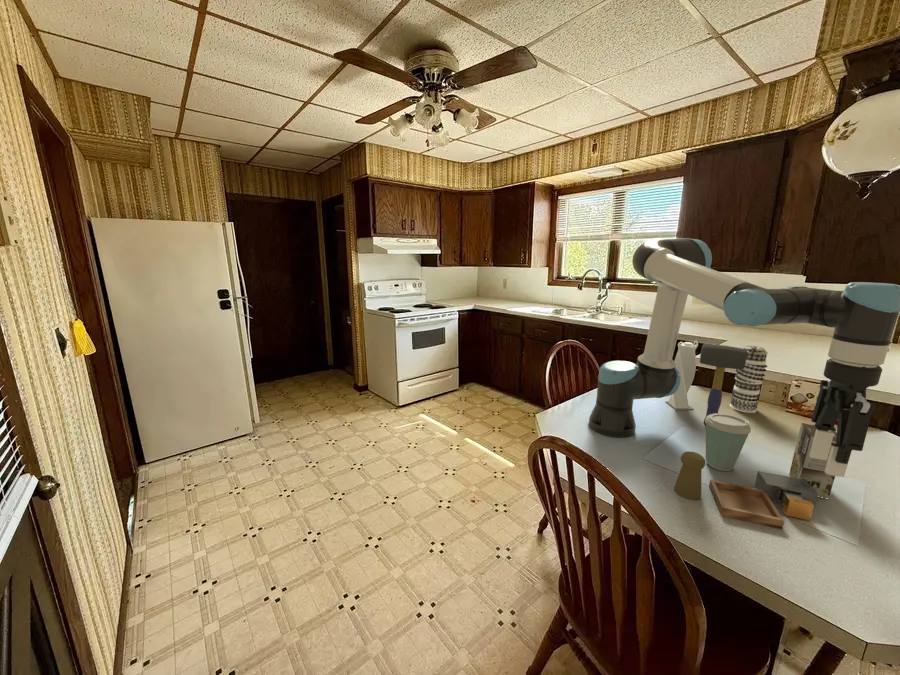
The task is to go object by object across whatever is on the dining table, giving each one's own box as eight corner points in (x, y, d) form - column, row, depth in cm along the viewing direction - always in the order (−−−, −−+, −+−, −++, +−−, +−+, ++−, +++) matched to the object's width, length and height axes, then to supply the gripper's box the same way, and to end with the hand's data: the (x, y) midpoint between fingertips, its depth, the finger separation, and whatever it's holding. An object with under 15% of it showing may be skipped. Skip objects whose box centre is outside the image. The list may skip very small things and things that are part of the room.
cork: (668, 485, 98) (674, 448, 96) (689, 484, 99) (696, 447, 96) (684, 500, 92) (691, 461, 90) (707, 499, 93) (714, 460, 90)
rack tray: (720, 515, 87) (722, 507, 87) (708, 486, 98) (710, 479, 97) (782, 529, 83) (784, 521, 82) (762, 497, 93) (764, 490, 93)
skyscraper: (695, 411, 142) (707, 341, 136) (674, 411, 143) (685, 341, 136) (682, 402, 151) (693, 336, 144) (662, 402, 151) (672, 336, 144)
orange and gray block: (786, 515, 87) (789, 500, 86) (767, 486, 97) (770, 473, 96) (810, 520, 85) (814, 505, 84) (788, 490, 96) (791, 477, 95)
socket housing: (763, 499, 93) (766, 484, 92) (754, 485, 98) (758, 470, 97) (813, 510, 89) (817, 493, 88) (801, 495, 94) (805, 479, 93)
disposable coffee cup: (691, 463, 108) (699, 416, 105) (705, 451, 115) (713, 406, 111) (734, 480, 100) (745, 430, 97) (747, 466, 107) (757, 419, 103)
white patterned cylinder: (735, 412, 142) (748, 349, 136) (723, 402, 150) (735, 343, 144) (762, 414, 140) (776, 351, 134) (749, 404, 148) (761, 344, 143)
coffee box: (830, 500, 92) (846, 442, 88) (795, 492, 96) (810, 435, 92) (819, 481, 100) (833, 427, 96) (787, 474, 103) (800, 421, 99)
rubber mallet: (731, 428, 129) (747, 346, 122) (731, 437, 123) (749, 351, 116) (689, 419, 136) (702, 340, 129) (687, 426, 130) (701, 345, 123)
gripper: (916, 380, 62) (879, 497, 68) (851, 351, 79) (825, 447, 85) (857, 374, 65) (826, 487, 71) (806, 348, 82) (784, 441, 88)
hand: (825, 465), depth 78 cm, fingers open, 6 cm apart
